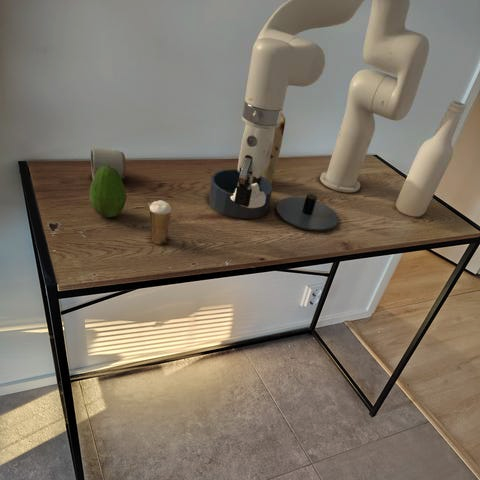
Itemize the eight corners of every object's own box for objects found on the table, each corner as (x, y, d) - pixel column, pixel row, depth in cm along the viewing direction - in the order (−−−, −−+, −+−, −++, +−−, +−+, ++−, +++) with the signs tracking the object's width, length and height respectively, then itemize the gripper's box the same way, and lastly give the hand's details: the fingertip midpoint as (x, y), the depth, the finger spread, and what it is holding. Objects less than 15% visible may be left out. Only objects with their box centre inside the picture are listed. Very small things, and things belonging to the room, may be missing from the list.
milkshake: (147, 232, 99) (148, 192, 92) (170, 236, 99) (173, 196, 93) (143, 243, 96) (143, 202, 89) (167, 247, 96) (170, 206, 89)
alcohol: (390, 208, 129) (436, 100, 109) (400, 199, 135) (446, 95, 115) (417, 220, 126) (471, 111, 106) (427, 211, 132) (479, 106, 112)
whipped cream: (237, 214, 95) (240, 195, 91) (223, 197, 98) (225, 177, 95) (268, 208, 98) (272, 189, 94) (254, 191, 102) (257, 172, 98)
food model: (276, 190, 126) (293, 118, 112) (255, 190, 123) (269, 117, 110) (265, 175, 132) (280, 105, 119) (244, 174, 130) (257, 103, 117)
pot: (219, 184, 123) (222, 163, 119) (273, 199, 121) (278, 179, 117) (200, 207, 111) (202, 186, 107) (259, 225, 110) (263, 203, 106)
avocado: (115, 227, 99) (114, 176, 91) (84, 217, 99) (79, 166, 91) (132, 212, 104) (132, 163, 96) (102, 202, 105) (99, 154, 97)
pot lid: (282, 194, 124) (287, 175, 121) (340, 211, 122) (346, 192, 119) (269, 221, 112) (273, 200, 108) (332, 239, 110) (339, 219, 106)
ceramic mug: (127, 184, 114) (126, 155, 109) (94, 185, 111) (92, 155, 106) (120, 167, 121) (119, 139, 116) (89, 167, 118) (87, 138, 113)
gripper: (270, 131, 78) (252, 219, 90) (289, 107, 91) (271, 186, 103) (230, 121, 79) (218, 209, 91) (255, 98, 92) (241, 178, 104)
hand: (246, 196), depth 97 cm, fingers closed on whipped cream, 7 cm apart
